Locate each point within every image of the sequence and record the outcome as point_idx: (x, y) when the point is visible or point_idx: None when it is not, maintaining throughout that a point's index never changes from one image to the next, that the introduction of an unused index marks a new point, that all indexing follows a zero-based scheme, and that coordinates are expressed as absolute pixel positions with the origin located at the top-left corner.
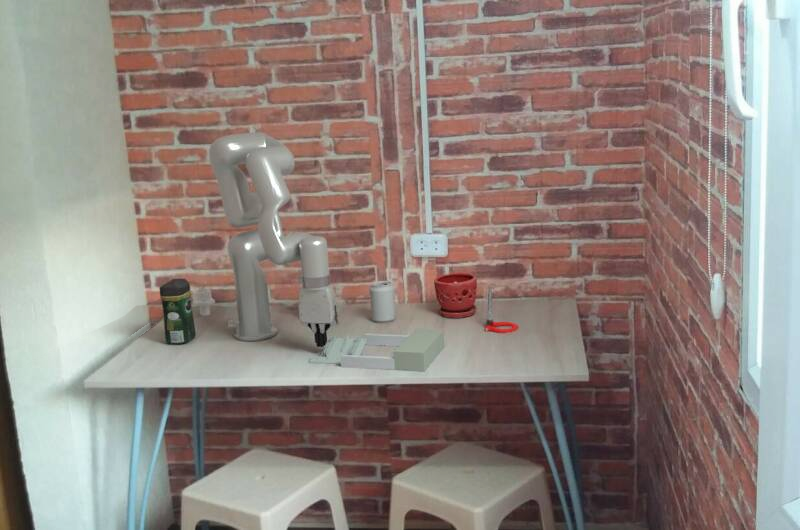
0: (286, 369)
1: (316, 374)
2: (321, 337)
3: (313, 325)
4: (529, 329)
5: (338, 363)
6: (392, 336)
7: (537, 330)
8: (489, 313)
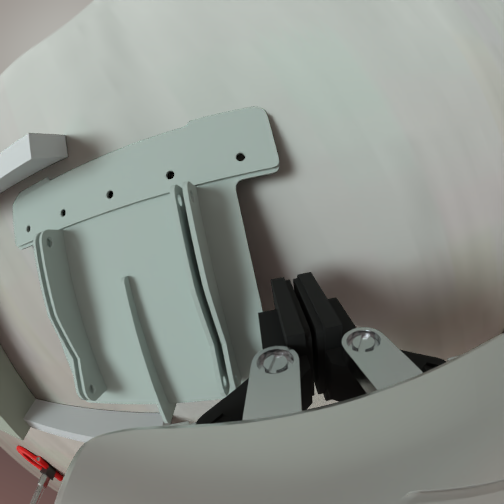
0: (324, 7)
1: (130, 6)
2: (281, 322)
3: (393, 379)
4: (16, 451)
5: (91, 161)
6: (68, 430)
7: (8, 446)
8: (38, 482)
